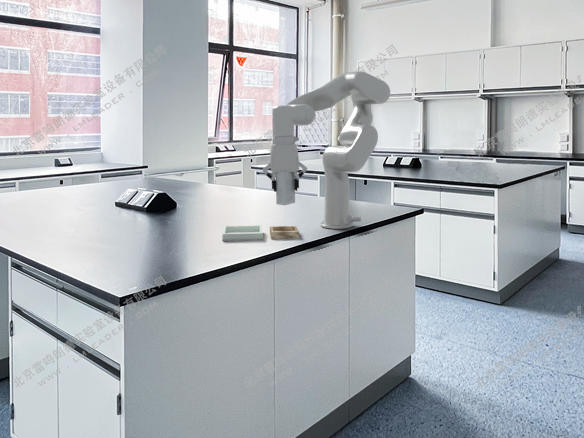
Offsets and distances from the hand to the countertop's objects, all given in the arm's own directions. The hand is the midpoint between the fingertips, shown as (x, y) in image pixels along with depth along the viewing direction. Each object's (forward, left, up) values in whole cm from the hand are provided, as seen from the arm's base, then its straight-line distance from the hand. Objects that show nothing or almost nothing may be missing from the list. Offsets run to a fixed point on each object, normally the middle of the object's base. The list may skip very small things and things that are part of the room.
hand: (285, 190), depth 191 cm
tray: (+16, 0, -17) cm, 23 cm away
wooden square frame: (+1, 0, -17) cm, 17 cm away
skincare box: (0, 0, -5) cm, 5 cm away
